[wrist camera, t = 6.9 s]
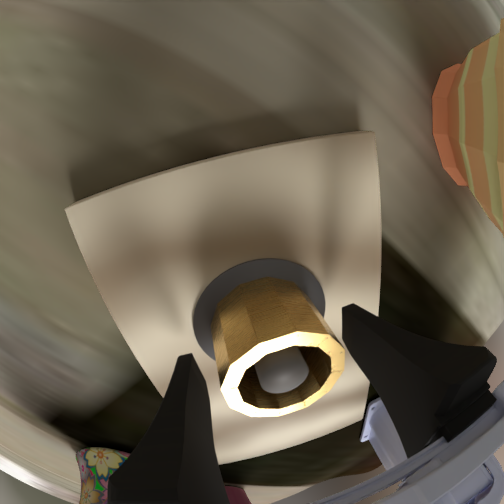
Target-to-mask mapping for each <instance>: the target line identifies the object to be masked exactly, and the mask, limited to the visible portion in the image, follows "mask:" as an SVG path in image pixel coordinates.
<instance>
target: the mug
mask: <svg viewBox="0 0 504 504" xmlns="http://www.w3.org/2000/svg"><path fill="white" fill-rule="evenodd" d="M129 455H130V453H126V452H123V451H119V450H114V449H109V448H100V447H90V448H84V449H81V450H79V451H78V452H77V454H76V460H77V462H78V466H79V469H80V474H81V496H80V502H79V504H107V489H108V479H109V477H110V476H111V475H112V474H113V473H114V472H115V471H116V470H117V469H118V468H119V467H120V466H121V465H122V464H123V463H124V461H125V460H126V459H127V458H128V457H129Z"/></svg>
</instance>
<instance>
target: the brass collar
mask: <svg viewBox="0 0 504 504" xmlns="http://www.w3.org/2000/svg"><path fill="white" fill-rule="evenodd" d="M211 332H212V339H213V346H214V352H215V358H216V364H217V370H218V376H219V382H220V387H221V391H222V393H223V395H224V397H225V399H226V401H227V403H228V405H229V407H230V408H233V409H235V410H237V411H239V412H242V413H244V414H246V415H249V416H251V417H268V416H281V415H284V414H288V413H291V412H294V411H297V410H300V409H303V408H305V407H308V406H309V405H311V404H312V403H313V402H315V401H316V400H318V399H319V398H321V397H322V396H323V395H325V394H326V393H328V392H329V391H330V390H331V389H332V387H333V386H334V384H335V383H336V382H337V380H338V379H339V377H340V376H341V374H342V373H343V371H344V366H345V349H344V347H343V346H342V344H341V343H340V341H339V340H338V338H337V337H336V336H335V334H334V333H333V331H332V330H331V328H330V327H329V325H328V324H327V323H326V321H325V320H324V318H323V317H322V315H321V314H320V312H319V311H318V310H317V308H316V307H315V305H314V304H313V302H312V301H311V300H310V298H309V297H308V296H307V295H306V294H305V293H304V292H303V291H302V290H301V289H300V288H299V287H298V286H297V285H296V284H295V283H294V282H293V281H288V280H283V279H278V278H273V277H264V278H260V279H257V280H253V281H250V282H246V283H243V284H239V285H238V286H237V287H235V288H234V289H233V290H232V291H231V292H230V293H229V294H228V295H226V296H225V297H224V298H223V299H222V300H221V301H220V302H219V303H218V304H217V307H216V310H215V313H214V316H213V320H212V323H211ZM293 345H297V347H298V349H299V351H300V353H301V355H302V357H303V359H304V361H305V362H306V364H307V366H308V370H309V372H308V376H307V378H306V379H305V380H304V382H303V383H302V384H300V385H299V386H298V387H296V388H294V389H292V390H290V391H287V392H283V393H270V392H267V391H265V390H264V389H263V388H262V387H261V385H260V381H259V378H258V375H257V372H256V369H255V366H254V363H255V362H257V361H258V360H259V359H261V358H262V357H263V356H265V355H266V354H268V353H271V352H275V351H278V350H281V349H284V348H287V347H290V346H293Z"/></svg>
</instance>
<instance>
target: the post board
mask: <svg viewBox="0 0 504 504" xmlns="http://www.w3.org/2000/svg"><path fill="white" fill-rule="evenodd" d="M65 212H66V214H67V217H68V220H69V223H70V225H71V228H72V231H73V233H74V236H75V238H76V241H77V243H78V246H79V248H80V250H81V253H82V255H83V258H84V260H85V262H86V264H87V267H88V269H89V271H90V273H91V275H92V278H93V280H94V282H95V284H96V286H97V288H98V290H99V292H100V294H101V296H102V298H103V300H104V302H105V304H106V306H107V308H108V310H109V312H110V313H111V315H112V317H113V319H114V321H115V323H116V324H117V326H118V328H119V330H120V332H121V333H122V335H123V337H124V338H125V340H126V342H127V344H128V345H129V347H130V349H131V350H132V352H133V353H134V355H135V357H136V358H137V360H138V361H139V363H140V365H141V366H142V368H143V369H144V371H145V372H146V374H147V375H148V377H149V378H150V380H151V381H152V383H153V384H154V386H155V387H156V388H157V390H158V391H159V393H160V394H161V396H162V397H163V398H164V396H165V393H166V391H167V388H168V385H169V383H170V380H171V377H172V374H173V371H174V368H175V365H176V361H177V358H178V357H179V356H180V355H185V354H189V353H192V354H193V356H194V358H195V360H196V362H197V364H198V366H199V368H200V370H201V372H202V374H203V376H204V378H205V380H206V384H207V388H208V393H209V398H210V406H211V418H212V429H213V439H214V446H215V451H216V456H217V460H218V464H219V465H220V464H225V463H230V462H235V461H240V460H244V459H248V458H253V457H257V456H261V455H264V454H268V453H272V452H275V451H279V450H282V449H285V448H289V447H292V446H295V445H298V444H301V443H304V442H307V441H310V440H313V439H315V438H318V437H321V436H323V435H326V434H329V433H331V432H334V431H336V430H339V429H341V428H343V427H346V426H348V425H350V424H353V423H355V422H357V421H359V420H362V419H363V415H364V410H365V405H366V400H367V395H368V389H369V383H370V381H369V380H368V379H367V377H366V376H365V375H364V373H363V372H362V370H361V369H360V368H359V366H358V365H357V363H356V362H355V361H354V359H353V358H352V356H351V355H350V353H349V351H348V349H347V348H346V346H345V344H344V342H343V340H342V307H344V306H347V305H349V304H352V303H354V304H356V305H358V306H360V307H361V308H363V309H365V310H367V311H369V312H370V313H372V314H374V315H376V316H378V311H379V297H380V279H381V202H380V184H379V170H378V159H377V149H376V140H375V132H371V131H354V132H346V133H338V134H330V135H323V136H316V137H310V138H304V139H298V140H292V141H286V142H281V143H275V144H270V145H265V146H260V147H255V148H251V149H246V150H241V151H237V152H233V153H228V154H224V155H220V156H216V157H212V158H208V159H204V160H200V161H197V162H193V163H189V164H186V165H182V166H179V167H175V168H172V169H168V170H165V171H162V172H158V173H155V174H152V175H149V176H146V177H143V178H140V179H136V180H133V181H131V182H128V183H125V184H122V185H119V186H116V187H113V188H111V189H108V190H105V191H102V192H100V193H97V194H94V195H92V196H89V197H87V198H84V199H82V200H79V201H77V202H74V203H73V204H71V205H70V206H68V207H67V208H66V209H65ZM264 277H273V278H278V279H283V280H288V281H293V282H294V283H295V284H296V285H297V286H298V287H299V288H300V289H301V290H302V291H303V292H304V293H305V294H306V295H307V296H308V297H309V298H310V300H311V301H312V302H313V304H314V305H315V307H316V308H317V310H318V311H319V312H320V314H321V315H322V317H323V318H324V320H325V321H326V323H327V324H328V325H329V327H330V328H331V330H332V331H333V333H334V334H335V336H336V337H337V338H338V340H339V341H340V343H341V344H342V346H343V347H344V349H345V366H344V371H343V373H342V374H341V376H340V377H339V379H338V380H337V382H336V383H335V384H334V386H333V387H332V389H331V390H330V391H329V392H328V393H326V394H325V395H323V396H322V397H321V398H319V399H318V400H316V401H315V402H313V403H312V404H311V405H309V406H308V407H305V408H303V409H300V410H297V411H294V412H291V413H288V414H284V415H281V416H268V417H251V416H249V415H246V414H244V413H242V412H239V411H237V410H235V409H233V408H230V407H229V405H228V403H227V401H226V399H225V397H224V395H223V393H222V391H221V387H220V382H219V376H218V370H217V364H216V358H215V352H214V346H213V339H212V332H211V323H212V320H213V316H214V313H215V310H216V307H217V304H218V303H219V302H220V301H221V300H222V299H223V298H224V297H225V296H226V295H228V294H229V293H230V292H231V291H232V290H233V289H234V288H235V287H237V286H238V285H239V284H243V283H246V282H250V281H253V280H257V279H260V278H264ZM254 366H255V369H256V372H257V375H258V378H259V381H260V385H261V387H262V388H263V389H264V390H265V391H267V392H270V393H283V392H287V391H290V390H292V389H294V388H296V387H298V386H299V385H300V384H302V383H303V382H304V380H305V379H306V378H307V376H308V372H309V370H308V366H307V364H306V362H305V361H304V359H303V357H302V355H301V353H300V351H299V349H298V347H297V345H293V346H290V347H287V348H284V349H281V350H278V351H275V352H271V353H268V354H266V355H265V356H263V357H262V358H261V359H259V360H258V361H257V362H255V363H254Z"/></svg>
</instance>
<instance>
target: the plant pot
mask: <svg viewBox="0 0 504 504" xmlns="http://www.w3.org/2000/svg"><path fill="white" fill-rule="evenodd" d="M225 490H226V493H227V496H228V499H229V502H230V504H251V502H250V501H249V499H248V497H247V495H246V493H245V491H244V490H243V489H241V488H238V487H233V486H225Z"/></svg>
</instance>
